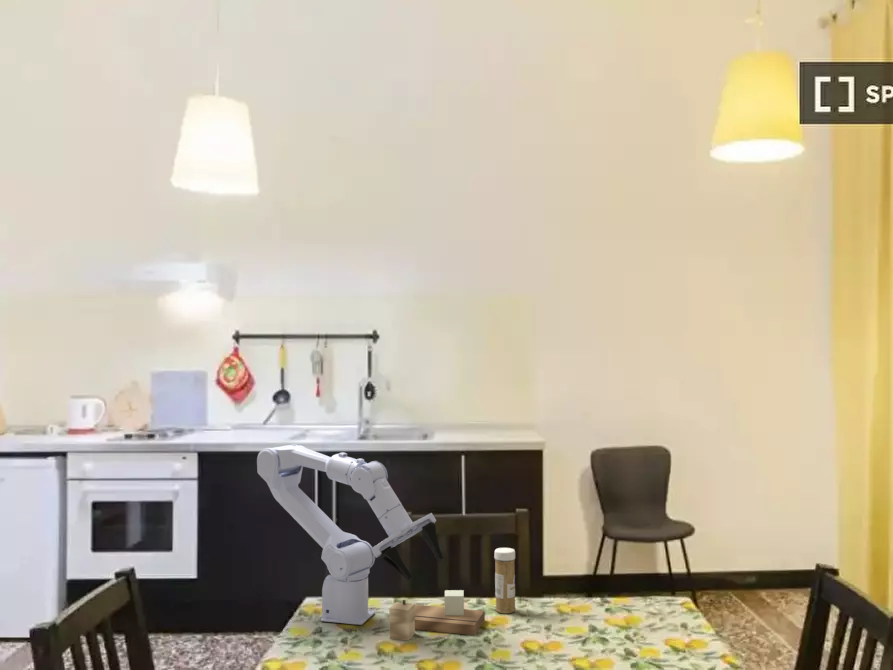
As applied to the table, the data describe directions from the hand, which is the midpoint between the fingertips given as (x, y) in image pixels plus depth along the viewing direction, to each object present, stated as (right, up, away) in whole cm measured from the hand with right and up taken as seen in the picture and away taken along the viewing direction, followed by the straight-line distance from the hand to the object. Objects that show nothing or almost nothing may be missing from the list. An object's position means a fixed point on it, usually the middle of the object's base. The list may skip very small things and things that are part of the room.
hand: (425, 569), depth 161 cm
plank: (+3, -13, +6) cm, 15 cm away
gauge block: (-5, -13, -1) cm, 14 cm away
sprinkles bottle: (+17, -13, +14) cm, 26 cm away
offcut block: (+6, -11, +7) cm, 14 cm away
